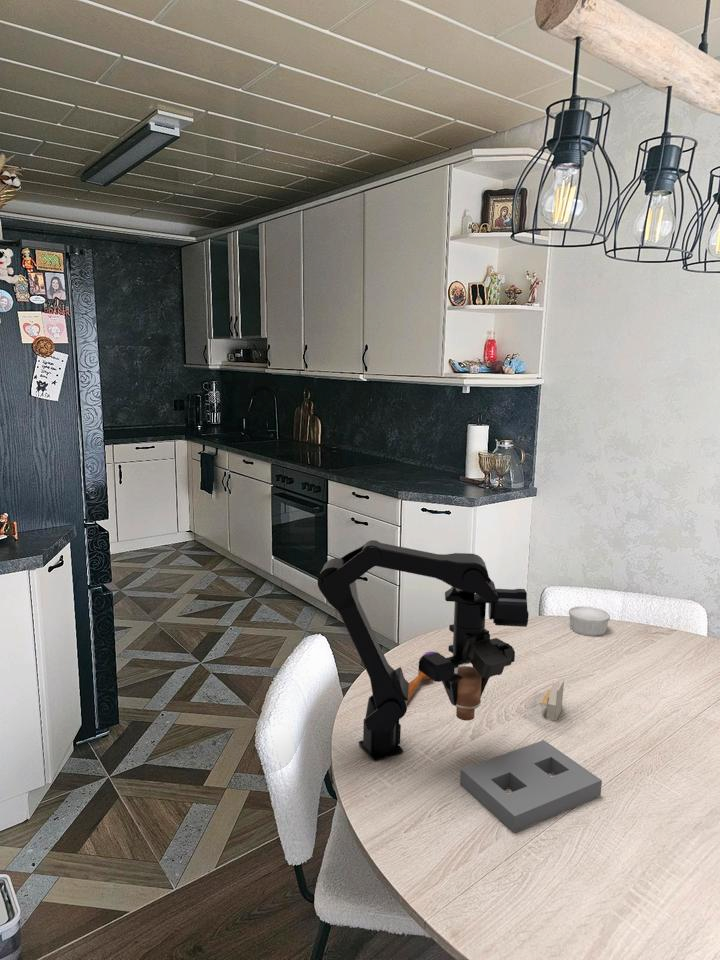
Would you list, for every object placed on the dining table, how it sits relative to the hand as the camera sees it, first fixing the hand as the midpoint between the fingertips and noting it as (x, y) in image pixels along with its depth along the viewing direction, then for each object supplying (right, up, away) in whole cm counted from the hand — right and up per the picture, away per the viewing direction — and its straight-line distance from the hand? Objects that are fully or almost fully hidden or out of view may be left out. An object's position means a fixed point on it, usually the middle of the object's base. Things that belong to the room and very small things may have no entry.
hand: (465, 700), depth 124 cm
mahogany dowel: (0, -3, +1) cm, 3 cm away
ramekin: (+45, -1, +64) cm, 78 cm away
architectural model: (+22, -9, +18) cm, 30 cm away
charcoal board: (+10, -13, -8) cm, 18 cm away
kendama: (-6, -7, +28) cm, 30 cm away
